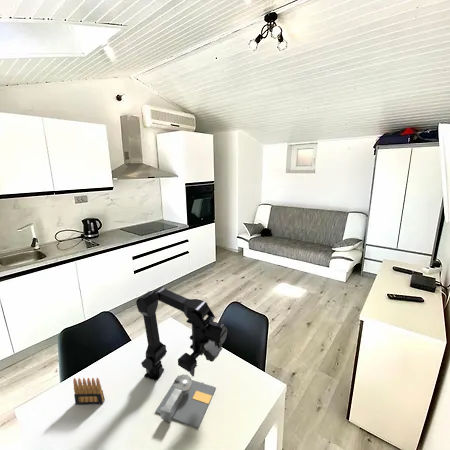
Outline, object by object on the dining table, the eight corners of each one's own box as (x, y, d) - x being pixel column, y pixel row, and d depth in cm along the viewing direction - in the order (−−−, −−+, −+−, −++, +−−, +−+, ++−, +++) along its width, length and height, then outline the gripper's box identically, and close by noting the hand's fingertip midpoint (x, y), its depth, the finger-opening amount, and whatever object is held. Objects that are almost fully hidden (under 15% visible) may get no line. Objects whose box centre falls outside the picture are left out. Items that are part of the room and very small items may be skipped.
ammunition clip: (104, 400, 98) (100, 375, 95) (102, 404, 96) (98, 379, 93) (78, 400, 98) (73, 376, 95) (75, 404, 96) (70, 380, 93)
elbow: (180, 380, 105) (179, 372, 104) (194, 385, 103) (194, 376, 102) (157, 417, 90) (156, 407, 89) (174, 423, 88) (173, 414, 87)
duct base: (155, 412, 93) (154, 406, 92) (178, 376, 108) (177, 371, 108) (198, 428, 87) (197, 422, 86) (215, 388, 103) (215, 382, 102)
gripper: (200, 359, 81) (201, 396, 85) (230, 328, 95) (230, 361, 99) (175, 345, 87) (177, 380, 91) (208, 318, 101) (208, 349, 106)
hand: (200, 367), depth 96 cm, fingers open, 9 cm apart
